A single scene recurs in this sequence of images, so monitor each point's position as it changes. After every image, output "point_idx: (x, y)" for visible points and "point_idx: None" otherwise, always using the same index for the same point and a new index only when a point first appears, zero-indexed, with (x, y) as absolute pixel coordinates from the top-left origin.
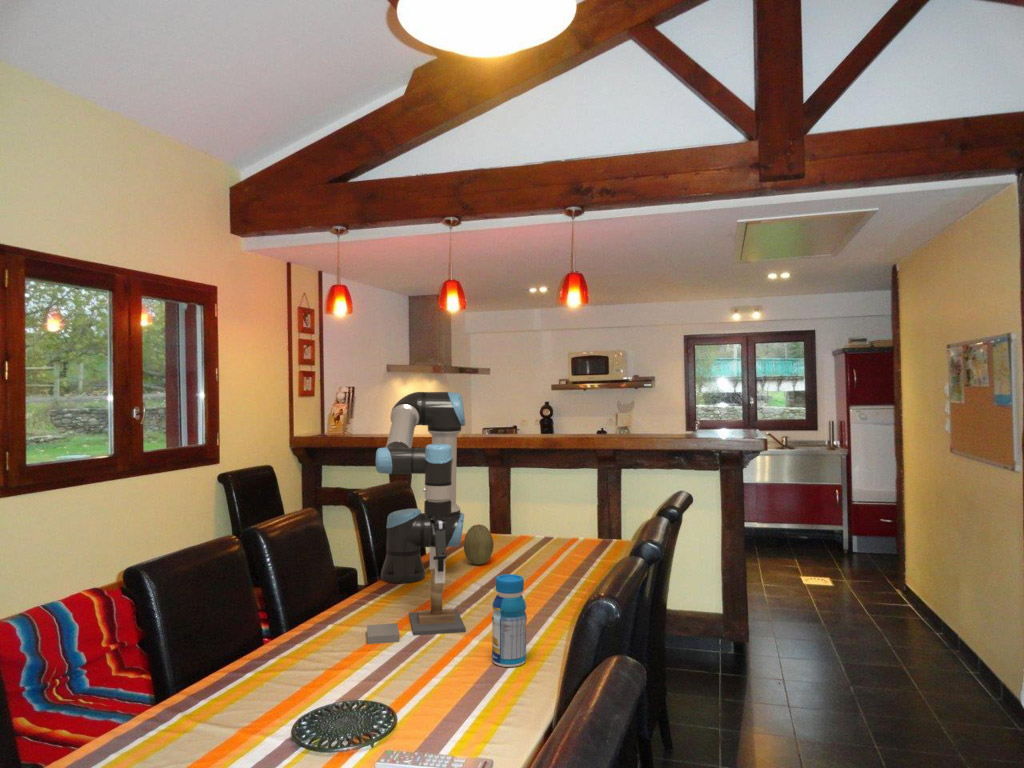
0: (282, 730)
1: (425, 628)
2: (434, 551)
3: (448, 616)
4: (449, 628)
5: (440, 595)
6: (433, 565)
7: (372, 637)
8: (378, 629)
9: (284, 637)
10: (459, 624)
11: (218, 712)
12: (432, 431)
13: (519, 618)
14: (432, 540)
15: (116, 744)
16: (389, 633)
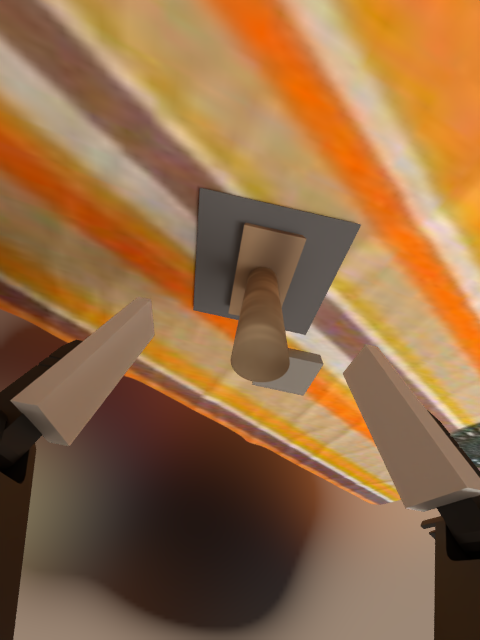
0: None
1: (302, 312)
2: (86, 393)
3: (298, 259)
4: (334, 266)
5: (279, 297)
6: (143, 334)
7: (305, 390)
8: (280, 379)
9: (233, 430)
10: (323, 231)
11: (375, 476)
12: None
13: None
14: (16, 530)
15: (375, 498)
16: (308, 373)
